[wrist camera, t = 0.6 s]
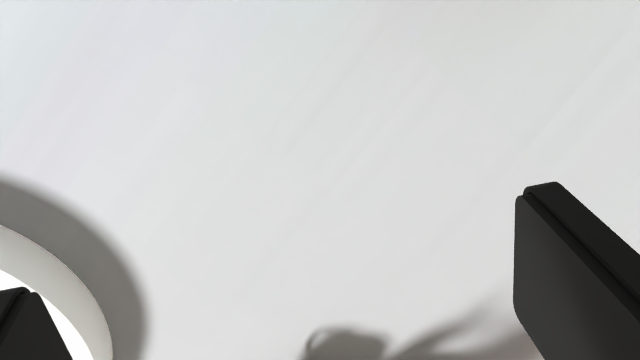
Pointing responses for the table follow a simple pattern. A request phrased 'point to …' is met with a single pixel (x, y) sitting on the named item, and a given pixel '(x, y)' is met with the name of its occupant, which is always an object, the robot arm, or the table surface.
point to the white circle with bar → (56, 295)
